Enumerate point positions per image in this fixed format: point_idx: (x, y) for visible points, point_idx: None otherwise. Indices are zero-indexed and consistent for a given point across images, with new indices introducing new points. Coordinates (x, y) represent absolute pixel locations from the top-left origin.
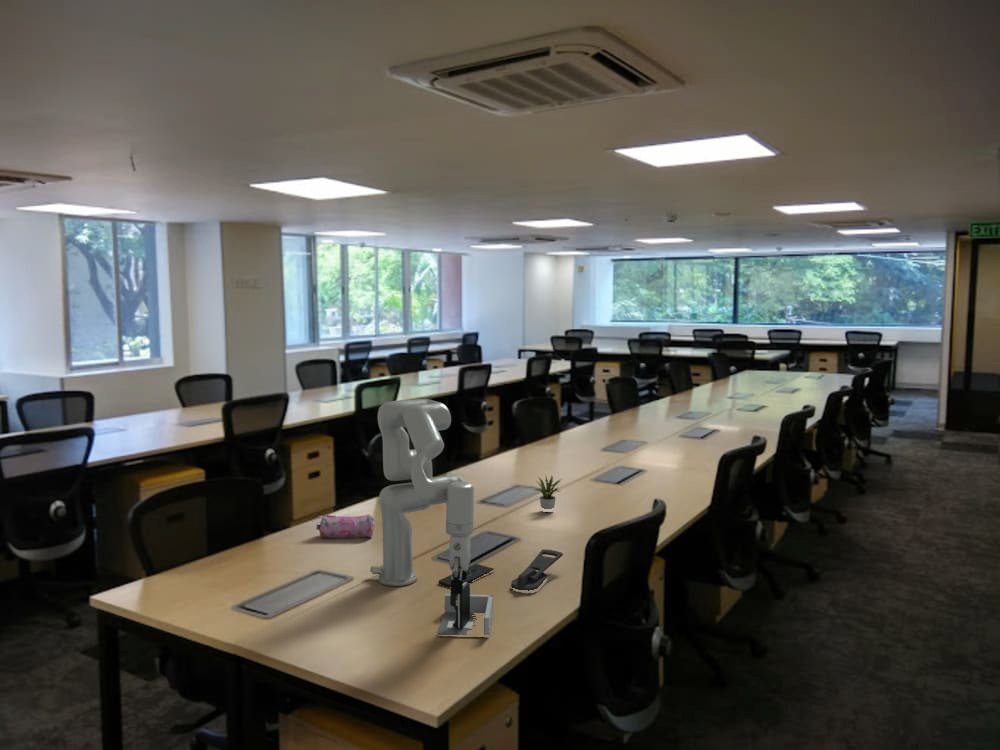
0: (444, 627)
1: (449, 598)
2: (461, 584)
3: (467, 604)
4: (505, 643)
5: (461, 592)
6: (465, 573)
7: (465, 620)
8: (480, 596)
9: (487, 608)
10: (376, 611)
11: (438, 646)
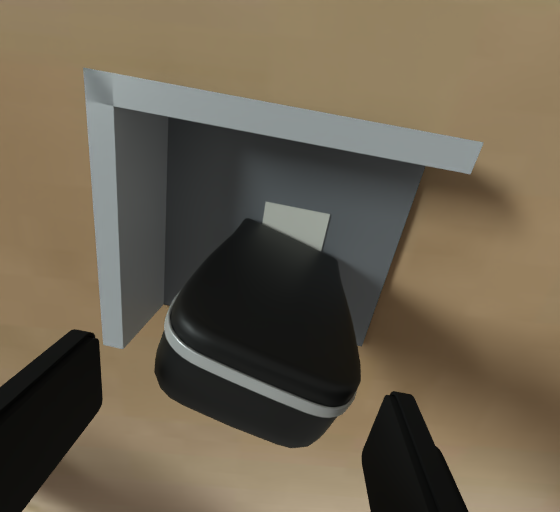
0: None
1: (130, 320)
2: (446, 494)
3: (264, 262)
4: (519, 52)
5: (413, 408)
6: (47, 383)
7: (300, 248)
8: (115, 164)
9: (315, 135)
10: (155, 466)
11: (442, 344)
